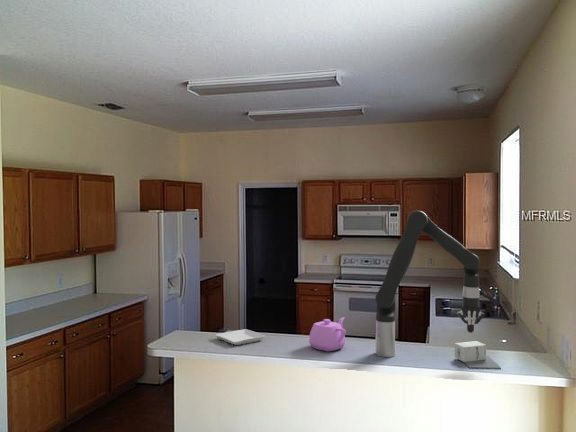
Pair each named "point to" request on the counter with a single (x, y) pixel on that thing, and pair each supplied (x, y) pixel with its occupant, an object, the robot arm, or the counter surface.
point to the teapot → (327, 335)
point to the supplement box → (470, 351)
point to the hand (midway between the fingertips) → (470, 332)
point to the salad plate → (240, 336)
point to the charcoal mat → (483, 364)
